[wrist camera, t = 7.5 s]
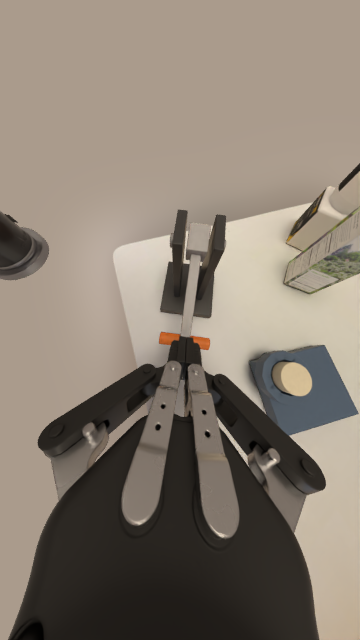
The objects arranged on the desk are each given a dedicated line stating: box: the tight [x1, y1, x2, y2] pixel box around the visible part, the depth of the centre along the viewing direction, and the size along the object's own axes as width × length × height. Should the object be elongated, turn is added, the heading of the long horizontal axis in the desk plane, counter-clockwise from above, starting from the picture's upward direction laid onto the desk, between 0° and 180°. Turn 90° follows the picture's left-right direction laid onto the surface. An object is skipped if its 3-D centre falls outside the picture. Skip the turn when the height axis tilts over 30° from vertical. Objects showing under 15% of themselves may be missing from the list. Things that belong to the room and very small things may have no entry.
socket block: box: [249, 345, 358, 436], centre depth 19 cm, size 13×11×4 cm
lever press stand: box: [160, 210, 226, 318], centre depth 19 cm, size 10×9×13 cm
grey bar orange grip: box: [159, 223, 211, 350], centre depth 15 cm, size 13×6×2 cm, turn 173°
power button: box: [272, 362, 312, 396], centre depth 17 cm, size 4×4×2 cm
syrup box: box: [284, 206, 360, 294], centre depth 20 cm, size 6×6×14 cm
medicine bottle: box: [286, 164, 360, 251], centre depth 24 cm, size 7×7×12 cm
